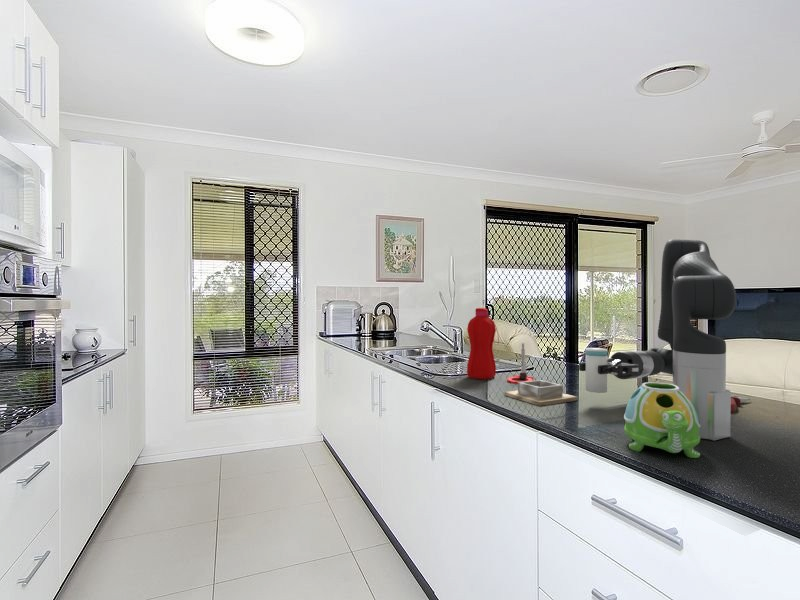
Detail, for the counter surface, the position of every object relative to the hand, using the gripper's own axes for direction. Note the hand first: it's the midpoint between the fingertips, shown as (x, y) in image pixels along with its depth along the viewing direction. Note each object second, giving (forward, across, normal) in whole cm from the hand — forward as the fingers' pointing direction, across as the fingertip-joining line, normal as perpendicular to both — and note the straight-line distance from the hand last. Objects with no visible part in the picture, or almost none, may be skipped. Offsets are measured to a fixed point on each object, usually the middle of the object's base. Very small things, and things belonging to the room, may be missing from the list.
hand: (589, 368), depth 112 cm
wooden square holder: (+3, -14, +10) cm, 18 cm away
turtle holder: (+14, +28, +11) cm, 33 cm away
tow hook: (-9, -35, +10) cm, 38 cm away
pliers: (-34, +15, +11) cm, 39 cm away
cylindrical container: (-3, 0, +6) cm, 7 cm away
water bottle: (-2, -46, +10) cm, 47 cm away
